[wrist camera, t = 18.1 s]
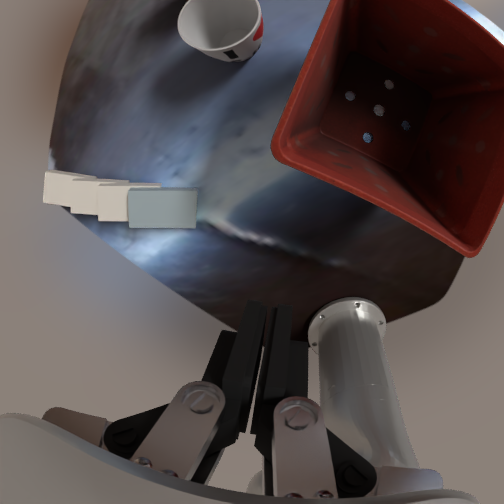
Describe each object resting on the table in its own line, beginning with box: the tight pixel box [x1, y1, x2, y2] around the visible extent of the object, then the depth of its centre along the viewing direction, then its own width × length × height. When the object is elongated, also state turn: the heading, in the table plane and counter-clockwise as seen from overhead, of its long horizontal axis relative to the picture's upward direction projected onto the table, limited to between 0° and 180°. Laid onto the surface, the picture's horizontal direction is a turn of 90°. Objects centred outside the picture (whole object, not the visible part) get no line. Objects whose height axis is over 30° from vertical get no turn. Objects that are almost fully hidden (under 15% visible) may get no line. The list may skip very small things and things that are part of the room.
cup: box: [178, 0, 264, 62], centre depth 23 cm, size 8×8×10 cm
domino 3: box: [97, 183, 162, 221], centre depth 36 cm, size 5×2×9 cm
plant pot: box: [271, 0, 504, 258], centre depth 21 cm, size 19×19×17 cm
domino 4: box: [128, 187, 198, 228], centre depth 35 cm, size 5×2×9 cm
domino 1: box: [43, 170, 97, 207], centre depth 36 cm, size 5×2×9 cm
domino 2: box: [71, 178, 130, 215], centre depth 36 cm, size 5×2×9 cm
